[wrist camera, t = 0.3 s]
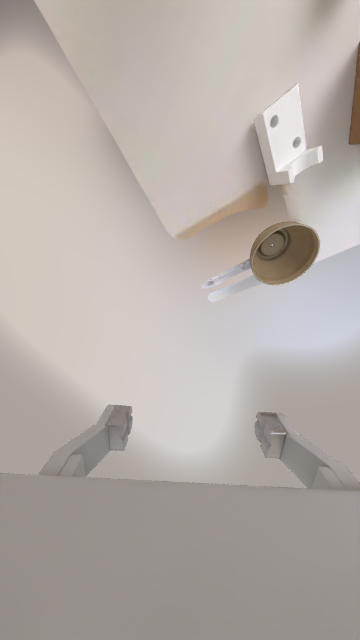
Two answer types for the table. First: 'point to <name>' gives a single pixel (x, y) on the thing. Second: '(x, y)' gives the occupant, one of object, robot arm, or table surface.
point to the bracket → (285, 139)
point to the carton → (356, 108)
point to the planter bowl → (284, 252)
